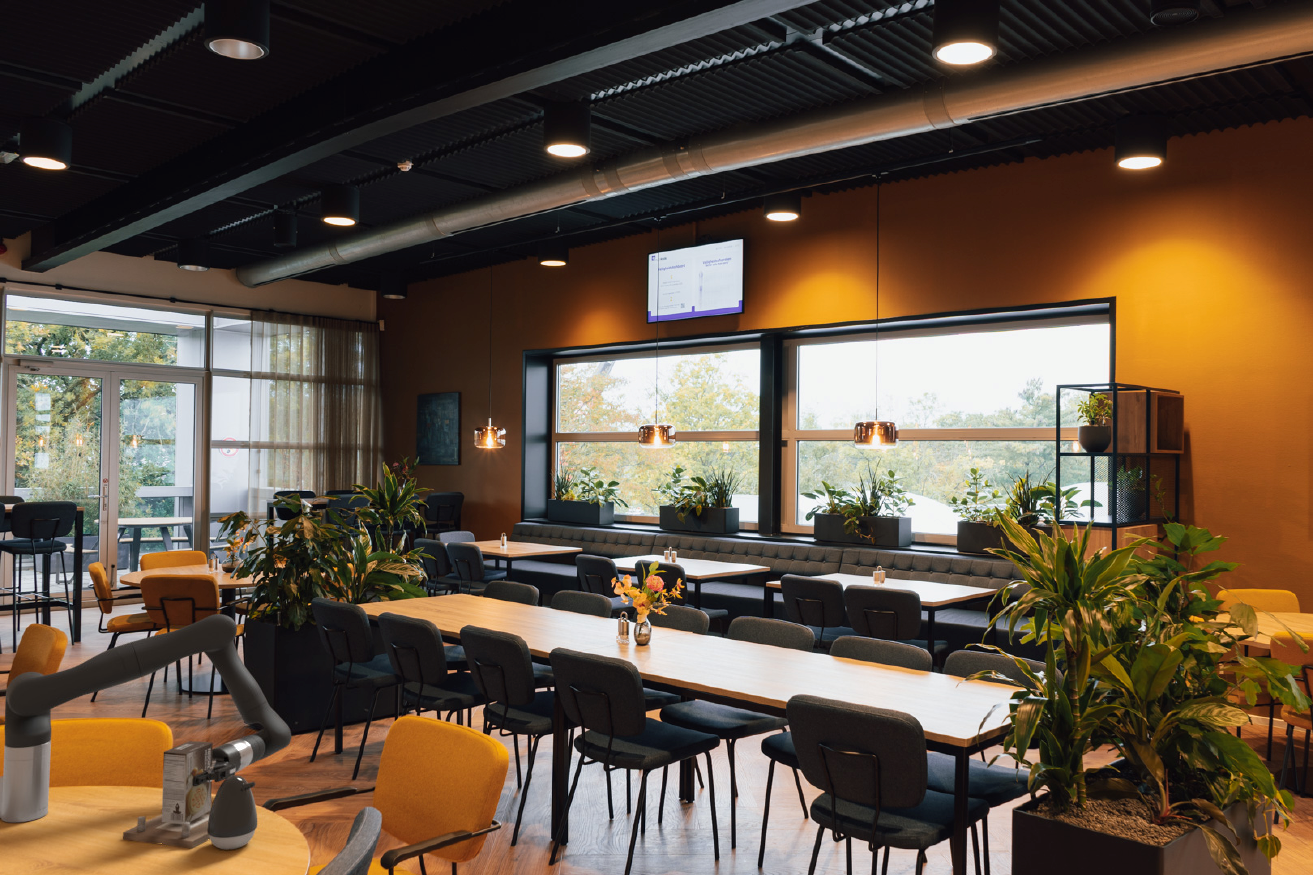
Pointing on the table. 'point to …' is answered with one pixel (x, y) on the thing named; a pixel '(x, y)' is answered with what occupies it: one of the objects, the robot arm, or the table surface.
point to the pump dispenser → (232, 814)
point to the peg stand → (170, 831)
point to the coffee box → (186, 782)
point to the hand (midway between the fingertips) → (180, 780)
